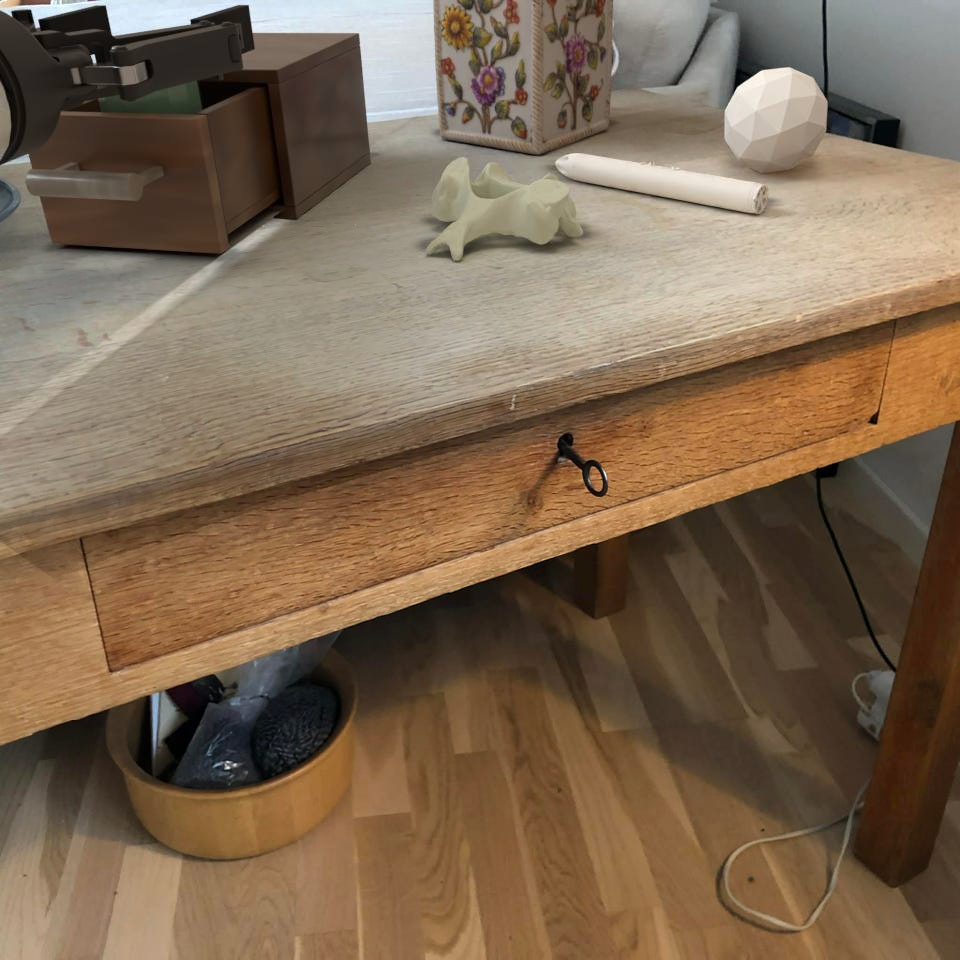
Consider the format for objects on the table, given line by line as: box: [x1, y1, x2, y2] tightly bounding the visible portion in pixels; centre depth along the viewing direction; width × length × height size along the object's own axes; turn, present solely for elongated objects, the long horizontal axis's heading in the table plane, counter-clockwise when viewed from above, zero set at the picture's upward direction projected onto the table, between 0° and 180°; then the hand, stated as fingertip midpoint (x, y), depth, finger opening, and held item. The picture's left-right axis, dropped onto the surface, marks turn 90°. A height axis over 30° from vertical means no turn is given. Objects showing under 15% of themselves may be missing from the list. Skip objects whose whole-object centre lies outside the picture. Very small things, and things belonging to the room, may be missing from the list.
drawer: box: [25, 82, 283, 254], centre depth 69 cm, size 19×13×8 cm, turn 165°
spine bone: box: [426, 156, 584, 262], centre depth 68 cm, size 12×10×5 cm
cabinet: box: [198, 32, 372, 220], centre depth 80 cm, size 16×14×10 cm
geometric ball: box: [724, 66, 829, 174], centre depth 79 cm, size 8×8×8 cm
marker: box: [554, 152, 769, 215], centre depth 76 cm, size 18×2×2 cm, turn 50°
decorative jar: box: [432, 0, 614, 156], centre depth 89 cm, size 12×12×18 cm
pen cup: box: [98, 81, 204, 115], centre depth 69 cm, size 6×6×9 cm
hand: (174, 27), depth 69 cm, fingers open, 10 cm apart
